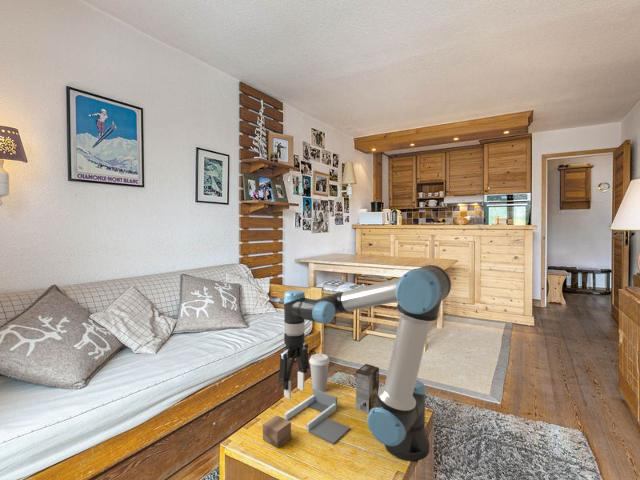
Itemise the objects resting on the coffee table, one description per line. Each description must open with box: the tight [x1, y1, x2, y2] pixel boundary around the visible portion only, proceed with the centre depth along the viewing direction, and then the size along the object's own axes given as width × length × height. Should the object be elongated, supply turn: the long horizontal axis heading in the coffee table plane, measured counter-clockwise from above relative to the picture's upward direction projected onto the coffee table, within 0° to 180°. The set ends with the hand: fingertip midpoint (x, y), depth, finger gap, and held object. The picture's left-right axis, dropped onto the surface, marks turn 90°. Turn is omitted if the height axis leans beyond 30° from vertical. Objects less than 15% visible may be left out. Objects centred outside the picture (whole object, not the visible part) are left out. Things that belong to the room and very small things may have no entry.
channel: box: [283, 389, 338, 432], centre depth 137 cm, size 12×19×5 cm, turn 143°
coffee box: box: [355, 363, 380, 415], centre depth 143 cm, size 9×6×16 cm
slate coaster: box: [308, 417, 351, 445], centre depth 126 cm, size 11×11×1 cm
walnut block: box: [262, 414, 292, 449], centre depth 121 cm, size 7×7×6 cm
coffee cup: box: [308, 353, 331, 392], centre depth 158 cm, size 10×10×15 cm
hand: (294, 393), depth 128 cm, fingers open, 7 cm apart
